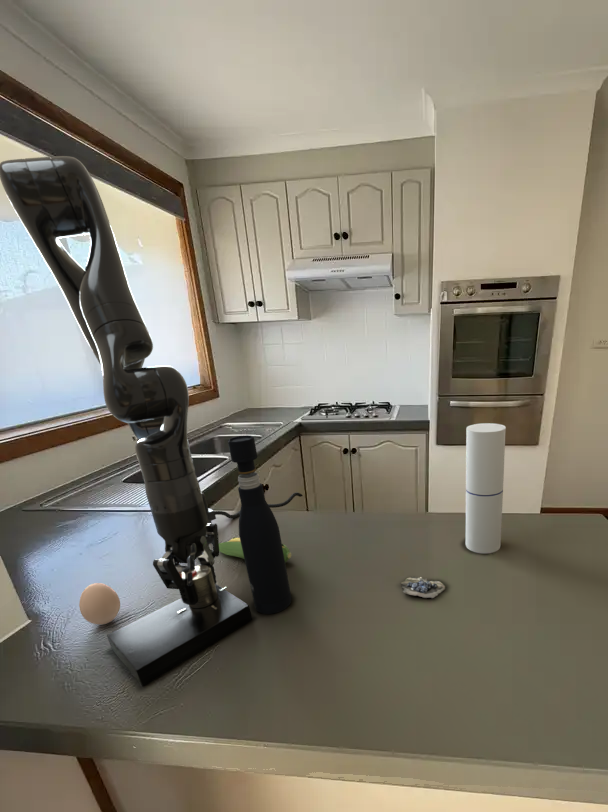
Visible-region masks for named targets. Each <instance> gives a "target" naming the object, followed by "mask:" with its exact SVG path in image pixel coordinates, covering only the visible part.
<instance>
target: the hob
mask: <svg viewBox="0 0 608 812" xmlns="http://www.w3.org/2000/svg"><path fill="white" fill-rule="evenodd" d="M215 587H216V591H217V594H218V597H217V599H216V601H215V602H213V603H212V604H210V605H208V606H206V607H202V608H192V607H190V606H189V605H188V604H185V603H183V601H182V598H181V597H180V598H178V599H176V600H174V601H172V602H169V603H168V604H166V605H164V606H162V607H160V608H158V609H156V610H154V611H151V612H150V613H148V614H146V615H144V616H142V617H140V618H138V619H136V620H134V621H133V622H130V623H128V624H126V625H124V626H122V627H120V628H118V629H116V630H114V631H112V632H111V633H109V634H106V638H107V639H108V643H109V645H110V647H111V650H112V651H113V653H114V654H115V655H116V656H117V658H118V659H119V660H120V661H121V662H122V664H123V665H124V666H125V668H126V669H127V670H128V671H129V672H130V673H131V675H132V676H133V677H134V678H135V680H136V681H137V683H139V684H140V686H141V687H144V686H147V685H148V684H150V683H151V682H153V681H154V680H156V679H158V678H159V677H161V676H163V675H164V674H166V673H168V672H170V671H171V670H172V669H174V668H176V667H177V666H179V665H181V664H182V663H184V662H186V661H188V660H189V659H190V658H192V657H194V656H195V655H197V654H199V653H200V652H202V651H203V650H205V649H207V648H209V647H210V646H212V645H213V644H215V643H217V642H219V641H220V640H222V639H223V638H225V637H227V636H228V635H230V634H232V633H233V632H234V631H237V630H239V629H240V628H241V627H243V626H244V625H247V624H248V623H250V622H251V621H253V617H252V612H251V608H250V604H248V603H246V602H245V601H244V600H242V599H240V598H239V597H237V596H236V595H234V594H233V593H231V592H229V591H228V590H227V589H228V586H224V587H222V586H220V585H219V584H217V583H216V584H215Z"/></svg>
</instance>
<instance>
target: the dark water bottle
mask: <svg viewBox="0 0 608 812" xmlns="http://www.w3.org/2000/svg"><path fill="white" fill-rule="evenodd" d="M227 446H228V450H229V455H230V459H231V462H232V463H236V465H237V466H236V467H237V473H238V474H239V475H238V476H237V482H238V486H239V487H238V488H237V491H238V495H239V500H240V509H239V511H240V516H238V536H239V537H238V538H240V541H241V546H242V550H243V555H244V559H243V560H244V563H245V568H246V572H247V577H248V581H249V586H250V591H251V595H252V599H253V604H254V608H255V610H256V611H257V612H258V613H261V614H263V615H271V614H277V613H280V612H282V611H284V610H286V609H287V608H288V607H289V606H290V605H291V603H292V594H291V588H290V582H289V576H288V570H287V565H286V562H285V559H284V554H283V548H282V544H283V543H282V537H281V533H280V527H279V524H278V521H277V518H276V516H275V514H274V512H273V511H272V508H270V507H269V505H268V504H269V503H268V502H267V500H266V497H265V491H264V486H263V484H262V483H261V480H260V475H259V473H258V472H256V471H257V468H256V466H255V460H257V459H258V452H257V448H256V441H255V437H254V436H253V435H238V436H234V437H231V438H229V439H228V440H227Z"/></svg>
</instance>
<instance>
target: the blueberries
mask: <svg viewBox="0 0 608 812" xmlns="http://www.w3.org/2000/svg"><path fill="white" fill-rule="evenodd" d="M400 585H401V586H400V587H401V588H403V590H402V593H403V594H405V595H406V594H407V595H410V596H418V597H422V598H424V599H427V598H431V599H434V598H435V597H438V596H439V594H441V593H442V592H443V591H445V590H446V586H445V585H444V583H442V582H441V581H439V580H432V579H431V580H427V578H423V577H422V576H420V577H418V576H417V577H416V576H410V577H407V578H406V579H404V580H403V581H401V582H400Z"/></svg>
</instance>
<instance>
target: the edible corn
mask: <svg viewBox="0 0 608 812" xmlns="http://www.w3.org/2000/svg"><path fill="white" fill-rule="evenodd" d="M282 548H283V554H284V559H285V563H287V562H288V561H289V560H290V559H291V557H292V553H291V552H290V549H289V548H288V546H287V545H286V544H283V543H282ZM219 553H221V554H224V555H226V556H231V557H236V558H239V559H243V560H245V559H244V555H243V550H242V546H241V541H240V537H232V538H231V539H229V540H228V541H223V542H219Z"/></svg>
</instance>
